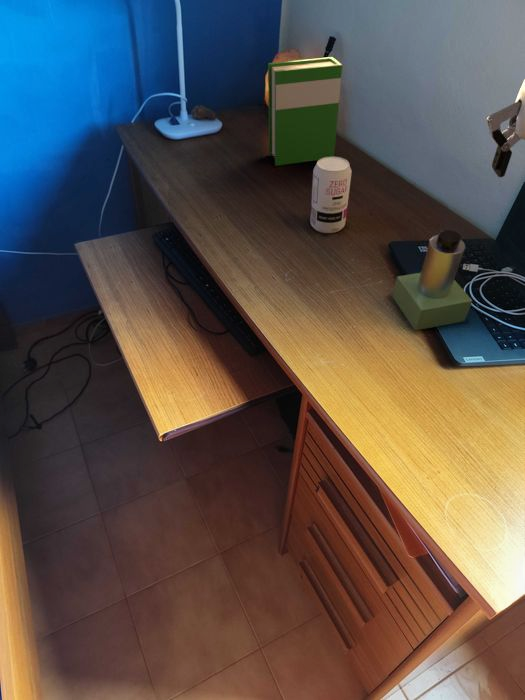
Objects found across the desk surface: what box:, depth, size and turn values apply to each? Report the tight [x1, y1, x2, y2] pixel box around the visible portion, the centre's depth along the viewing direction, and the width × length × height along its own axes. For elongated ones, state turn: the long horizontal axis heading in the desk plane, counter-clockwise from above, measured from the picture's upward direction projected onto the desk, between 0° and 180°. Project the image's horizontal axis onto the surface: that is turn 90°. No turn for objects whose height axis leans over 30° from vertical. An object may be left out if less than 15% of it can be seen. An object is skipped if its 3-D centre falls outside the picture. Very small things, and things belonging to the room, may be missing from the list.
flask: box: [417, 229, 466, 298], centre depth 82 cm, size 6×6×11 cm
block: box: [392, 272, 473, 331], centre depth 87 cm, size 10×10×5 cm
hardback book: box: [267, 56, 343, 167], centre depth 128 cm, size 18×7×24 cm, turn 105°
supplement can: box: [309, 156, 353, 234], centre depth 105 cm, size 8×8×15 cm
